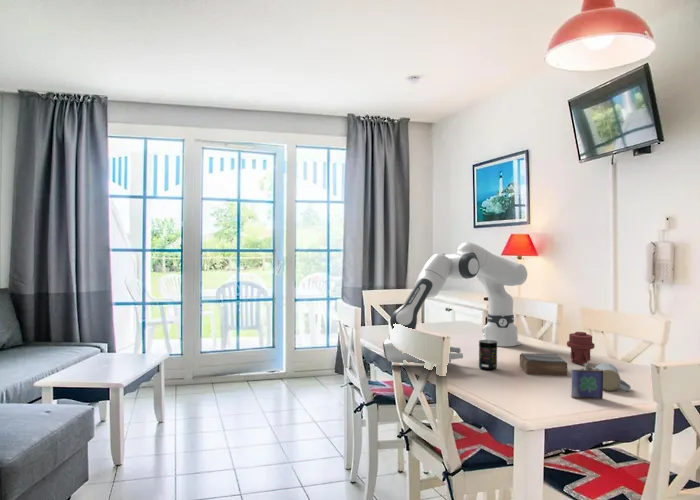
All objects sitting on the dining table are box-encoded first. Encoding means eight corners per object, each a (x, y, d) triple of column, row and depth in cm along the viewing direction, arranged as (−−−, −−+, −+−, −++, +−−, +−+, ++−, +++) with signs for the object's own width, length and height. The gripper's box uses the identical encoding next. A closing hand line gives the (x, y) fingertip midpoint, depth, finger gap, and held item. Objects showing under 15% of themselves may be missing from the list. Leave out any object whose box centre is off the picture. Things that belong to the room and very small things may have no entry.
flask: (572, 398, 154) (573, 364, 154) (569, 395, 157) (570, 361, 157) (604, 399, 154) (604, 364, 153) (600, 397, 156) (600, 362, 156)
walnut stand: (519, 365, 196) (519, 352, 196) (557, 366, 194) (557, 354, 194) (527, 374, 183) (527, 360, 183) (567, 375, 181) (567, 361, 181)
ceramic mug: (596, 390, 163) (596, 367, 163) (592, 384, 171) (593, 361, 171) (633, 394, 160) (633, 370, 159) (628, 387, 167) (628, 364, 167)
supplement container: (498, 367, 193) (498, 340, 193) (495, 371, 187) (495, 343, 187) (480, 365, 196) (481, 339, 196) (476, 369, 190) (477, 342, 190)
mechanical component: (590, 361, 204) (597, 367, 195) (564, 359, 206) (569, 365, 197) (590, 330, 204) (597, 335, 194) (564, 329, 206) (570, 334, 196)
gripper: (425, 349, 184) (464, 350, 182) (424, 338, 204) (459, 339, 203) (425, 366, 184) (464, 367, 182) (424, 354, 204) (459, 355, 203)
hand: (461, 352), depth 193 cm, fingers open, 8 cm apart
